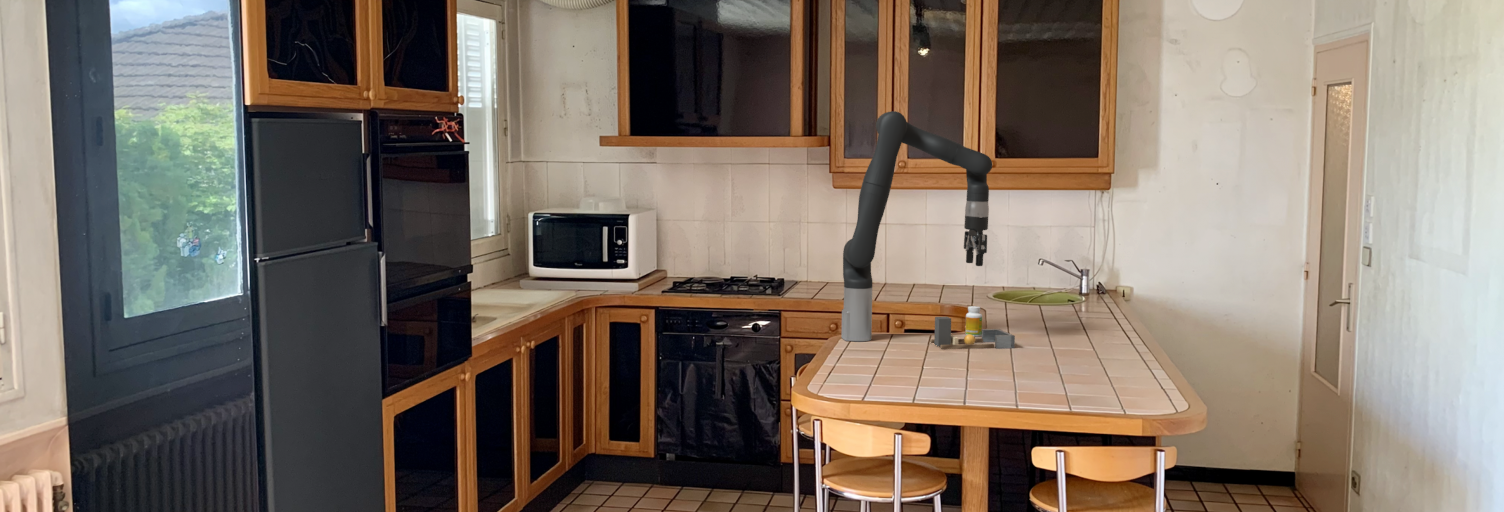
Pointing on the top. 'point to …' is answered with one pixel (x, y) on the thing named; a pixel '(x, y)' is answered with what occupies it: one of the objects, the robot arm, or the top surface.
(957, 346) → the lane
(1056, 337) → the top surface
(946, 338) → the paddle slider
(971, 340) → the ball
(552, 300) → the top surface
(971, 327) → the supplement bottle
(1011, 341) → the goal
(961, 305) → the top surface
